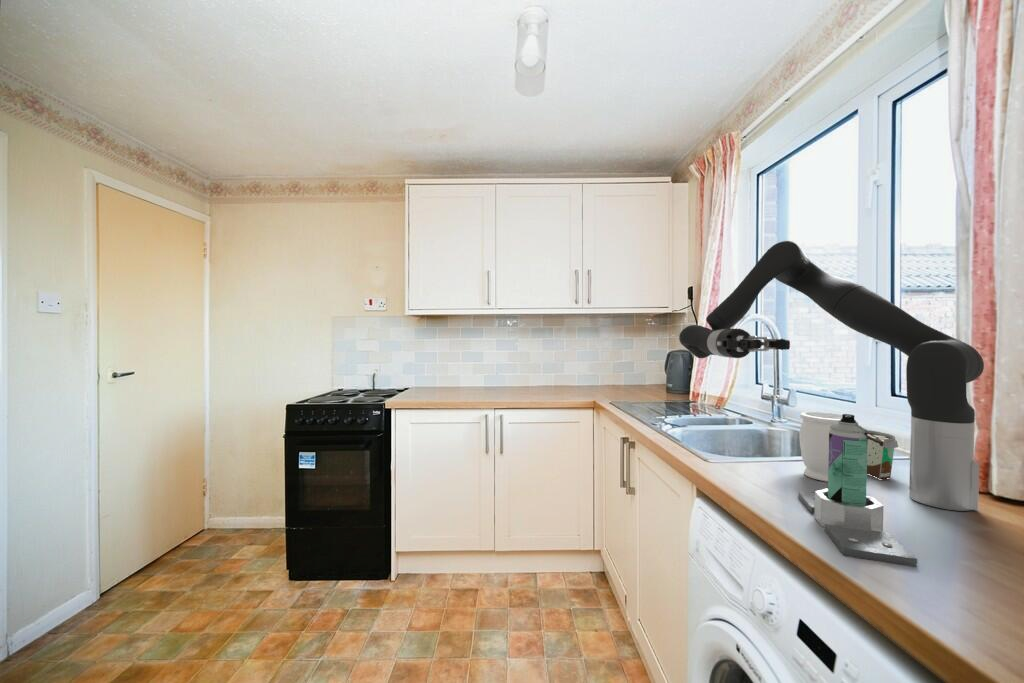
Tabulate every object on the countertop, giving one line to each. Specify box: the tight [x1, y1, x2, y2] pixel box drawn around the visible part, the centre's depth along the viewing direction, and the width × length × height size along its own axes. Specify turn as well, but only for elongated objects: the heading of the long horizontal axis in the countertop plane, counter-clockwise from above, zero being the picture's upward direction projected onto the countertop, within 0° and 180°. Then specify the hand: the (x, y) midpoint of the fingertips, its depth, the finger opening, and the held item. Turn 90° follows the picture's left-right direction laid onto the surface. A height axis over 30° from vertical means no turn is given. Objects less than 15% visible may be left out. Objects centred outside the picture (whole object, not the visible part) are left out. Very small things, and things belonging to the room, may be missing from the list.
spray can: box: [827, 413, 868, 506], centre depth 78 cm, size 6×6×20 cm
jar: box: [798, 411, 843, 483], centre depth 104 cm, size 11×10×15 cm
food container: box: [866, 429, 899, 479], centre depth 107 cm, size 12×6×10 cm, turn 179°
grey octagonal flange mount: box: [797, 487, 918, 568], centre depth 78 cm, size 9×26×5 cm, turn 160°
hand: (770, 344), depth 98 cm, fingers open, 8 cm apart
